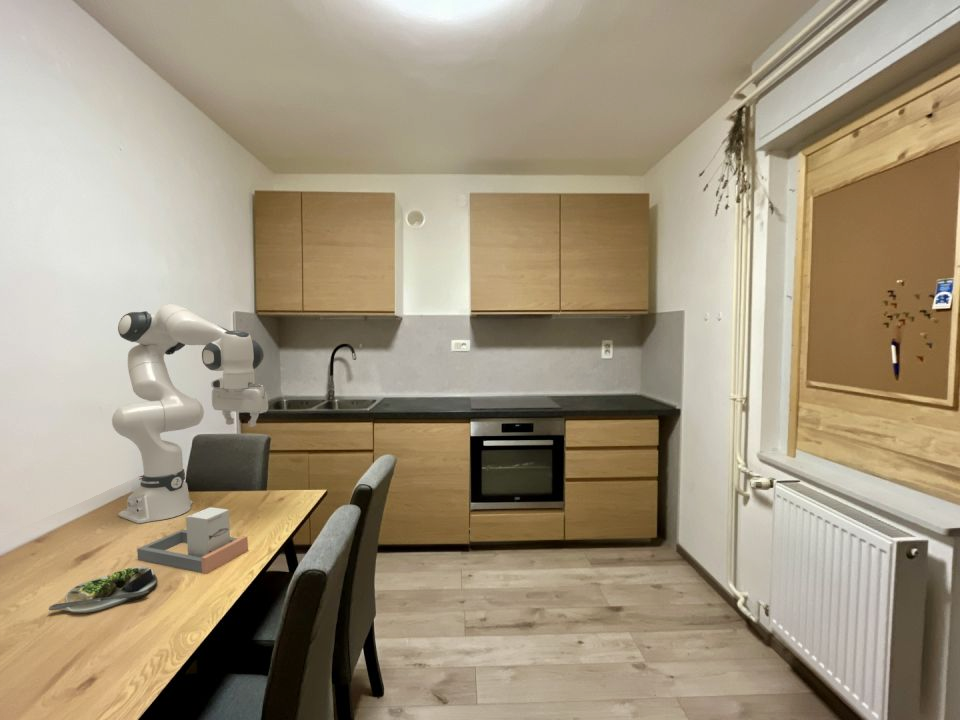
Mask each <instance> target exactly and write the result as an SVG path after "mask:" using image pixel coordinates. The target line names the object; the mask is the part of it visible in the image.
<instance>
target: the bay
mask: <svg viewBox="0 0 960 720" xmlns="http://www.w3.org/2000/svg"><path fill="white" fill-rule="evenodd" d="M248 541H249V539H248V536H247V535H242V536H240V537H238V538H237V537H231V536H230V543H228V544H226V545H224V546H222V547H221V548H219V549H217V550H215V551H213V552H211V553H209V554H207V555H205V556H203V557H196V556H191V555H188V554H186V553H185V554H184V553H180V552H175V551H168V549H170V548H171V547H172V548H173V547H174V546H176V545H178V544H180V543H186V544H187V529H183V528H182V529H179V530H178V531H175V532H173V533H171V534H168V535H167V536H164V537H162V538H159V539H157V540H154V541H153V542H149V543H148V544H145V545H143V546H141V547H138V548H137V549H136V550H137V560H138V561H142V562H147V563H148V562H149V563H151V564H158V565H162V566H168V567H173V568H175V569H176V568H177V569H182V570H187V571H192V572H196V573H202V574H206V575H207V574H208V573H210V572H212V571H213V570H214V571H215V570H216V569H217V567H218V568H219V567H221V566H223V565H225V564H226V562H227V563H228V562H229V561H232V560H234V559H235V558H237V557H239V556H241V555H243V554H244V553H247V552H248V551H249V544H248ZM215 568H216V569H215Z"/></svg>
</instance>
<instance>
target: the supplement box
mask: <svg viewBox="0 0 960 720" xmlns="http://www.w3.org/2000/svg"><path fill="white" fill-rule="evenodd" d="M185 518H186V519H185V521H186V530H187V543H186V544H187V555H191V556H196V557H203V556H205V555H207V554H209V553H211V552H213V551H215V550H217V549H219V548H221V547H222V546H224V545H226V544H228V543H230V537H231V530H230V529H231V527H230V526H231V525H230V509H227V508H219V507H213V506H212V507H211V506H209V507H207V508H204V509H203V510H200V511H197V512H194V513H192V514H190V515H187V516H186V517H185Z"/></svg>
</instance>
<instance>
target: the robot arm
mask: <svg viewBox="0 0 960 720" xmlns="http://www.w3.org/2000/svg"><path fill="white" fill-rule="evenodd" d="M117 332H118V334H119V336H120V337H121V338H122V339H123V340H126V341H128V342H131V343H137V344H138V345H135V346H133V347H131V349H130V350H129V351H128V354H127V370H128V374H129V375H128V376H129V378H130V382H131V386H132V392H133V393H134V394H135V395H136V396H137V397H138V398H139V399H142V400H145V401H141V402H134V403H130V404H125V405H122V406H119V407H118V408H117V409H116V410H115V411H114V413H113V415H112V418H111V425H112V427H113V429H114V431H115V432H116V433H117V434H119V435H120V436H121V437H124V438H126V439H128V440H129V441H131V442H132V443H133V444H134V445H135V446H136V447H137V449H138V451H139V452H140V456H141V462H142V468H143V475H140V476H138V481H140V484H139V485H140V486H139V487H137V488H136V489H135V491H134V492H132V493H131V494H130V495H129V496H128V497H127V500H126V508H125V509H123V510H121V511H119V513H118V516H119V517H121V518H122V519H126V520H129V522H130V521H131V522H133V523H136V524H143V523H148V522H154V521H162V520H167V519H172V518H174V517H178V516H180V515H183V514H185V513H188V512H189V511H190V510H191V508H192V506H193V504H192V503H193V500H191V499H190V494H189V489H188V488H189V487H188V483H187V482H186V481H185V479H186V471H185V469H184V467H183V465H184V464H183V450H182V448H181V447H180V446H179V445H178V444H177V443H175V442H171V441H167V440H164V439H162V438H161V434H163V433H166V432H168V433H169V432H173V431H180V430H181V431H182V430H186V429H189V428H193V427H195V426H198V425H199V424H200V423H201V421H202V420H203V418H204V414H205V412H204V411H205V410H204V407H203V404H202V403H201V402H200V401H199V400H198V399H197V398H193V397H190V396H188V395H186V394H184V393H183V392H181V391H180V390H178V389H177V388H176V387H175V385H174V384H173V381H172V380H171V377H170V374H169V371H168V368H167V365H166V363H165V358H164V357H165V355H166V356H167V355H168V356H169V355H173V354H175V352H177V351H178V352H179V351H180V350H181V349H183V348H184V347H185V346H187V345H188V346H204V347H203V349H202V351H201V359H202V360H201V361H202V363H203V365H204V366H205V367H206V368H207V369H208V370H210V371H216V372H218V371H219V372H222V371H223V372H222V377H220V378H217V379H214V380H212V381H211V382H210V384H211V385H210V386H211V388H212V390H211V407H212V408H213V409H214V410H215V411H221V412H222V415H223V417H224V419H225V425H231V426H232V425H234V424H235V420H234V419H235V418H234V417H233V416H232V415H231V413H232V412H236V413H237V412H239V413H249V416H250V419H249V420H248V422H247V424H248V425H247V426H248V427H249V428H254V427H256V426H257V420H258V418H259V416H260V414H263V413H267V411H268V410H269V400H268V395H267V392H266V387H265V386H264V385H263V384H262V383H260V382H258V383H256V380H255V379H256V378H255V369H257V368H259V366H260V365H261V364H262V362H263V360H264V357H265V356H264V355H265V354H264V350H263V347H262V346H261V345H260V344H259V343H258V342H257V341H256V340H254V339H252V336H251V334H250V333H248V332H246V331H242V330H228V329H227V328H225V327H222V326H220V325H218V324H216V323H213V322H211V321H209V320H206V319H205V318H203V317H201V316H199V315H197V314H196V313H194V312H193V311H191V310H189V308H186V307H184V306H181V305H180V304H176V303H175V304H173V303H169V304H165V305H162V306H161V307H160V308H159V309H158V311H157V312H156V313H155V314H151V313H149V312H148V311H141V312H140V311H132V312H127V313H126V314H123V315H122V317H121V318H120V320H119V322H118V327H117ZM232 417H233V418H232Z"/></svg>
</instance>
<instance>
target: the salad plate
mask: <svg viewBox="0 0 960 720" xmlns="http://www.w3.org/2000/svg"><path fill="white" fill-rule="evenodd" d="M157 584H158V578H157V575H156V573H155V571H154V569H152V567H150V566H134V567H130V568H129V567H128V568H125V569H121V570H120V571H115V572H114V573H111V574H108V575H106V576H105V575H104V576H101V577H98V578H95V579H91V580H88V581H85V582H81V583H80V584H78V585H75V586H74V587H73V588H71V589H70V590H69V591H68V592H67V593H66V594H65V602H61V603H55V604H52V605H50V606H49V607H48V611H67V612H71V613H94V612H99V611H102V610H105V609H108V608H112V607H115V606H119V605H121V604H125V603H129V602H131V601H134V600H136V599H140V598H142V597H145V595H147V594H149V593H150V592H152V591H153V590H154V589H155V588H156V586H157Z"/></svg>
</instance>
